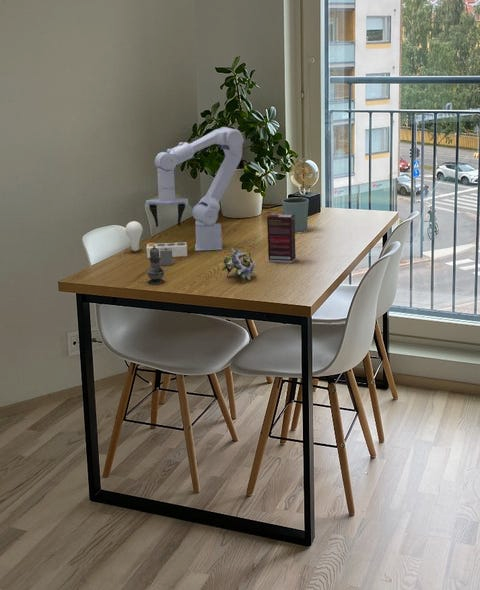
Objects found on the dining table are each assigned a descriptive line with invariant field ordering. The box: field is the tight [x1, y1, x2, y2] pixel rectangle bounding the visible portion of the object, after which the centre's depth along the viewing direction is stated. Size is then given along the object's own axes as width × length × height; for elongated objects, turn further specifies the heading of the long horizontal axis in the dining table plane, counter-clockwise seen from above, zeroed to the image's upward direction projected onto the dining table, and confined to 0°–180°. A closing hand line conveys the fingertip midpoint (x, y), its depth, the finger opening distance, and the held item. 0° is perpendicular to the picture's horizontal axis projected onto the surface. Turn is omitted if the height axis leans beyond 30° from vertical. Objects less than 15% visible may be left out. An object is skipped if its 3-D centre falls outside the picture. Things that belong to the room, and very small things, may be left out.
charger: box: [159, 248, 174, 266], centre depth 304 cm, size 4×6×5 cm
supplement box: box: [266, 213, 297, 264], centre depth 301 cm, size 9×5×16 cm, turn 71°
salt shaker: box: [146, 246, 166, 285], centre depth 282 cm, size 6×6×12 cm
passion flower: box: [222, 247, 256, 281], centre depth 284 cm, size 11×11×12 cm
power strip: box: [146, 241, 188, 259], centre depth 315 cm, size 14×6×4 cm, turn 94°
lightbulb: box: [125, 220, 144, 252], centre depth 320 cm, size 6×6×11 cm
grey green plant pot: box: [281, 196, 310, 234], centre depth 343 cm, size 10×10×12 cm
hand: (168, 225), depth 314 cm, fingers open, 7 cm apart
